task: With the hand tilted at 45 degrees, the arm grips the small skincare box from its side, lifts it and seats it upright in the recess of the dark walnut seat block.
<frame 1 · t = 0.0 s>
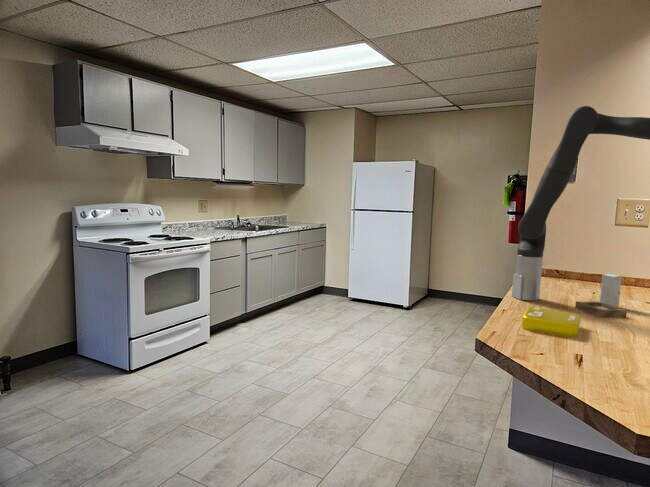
seat block: (599, 312, 152), on the table
skincare box: (608, 307, 161), on the table
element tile: (550, 329, 133), on the table
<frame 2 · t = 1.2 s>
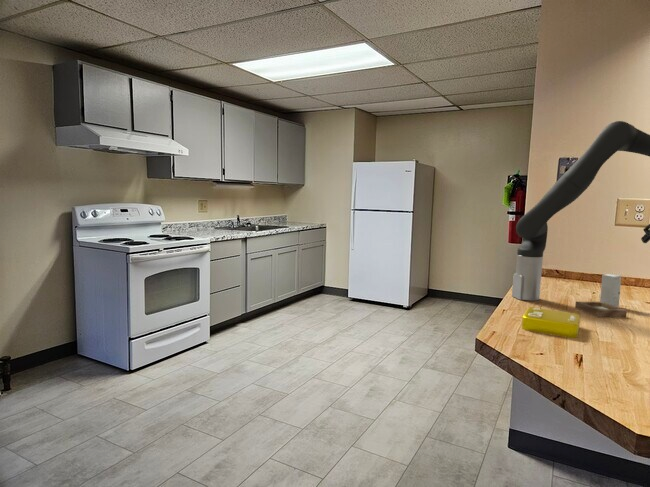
nothing on the table moved.
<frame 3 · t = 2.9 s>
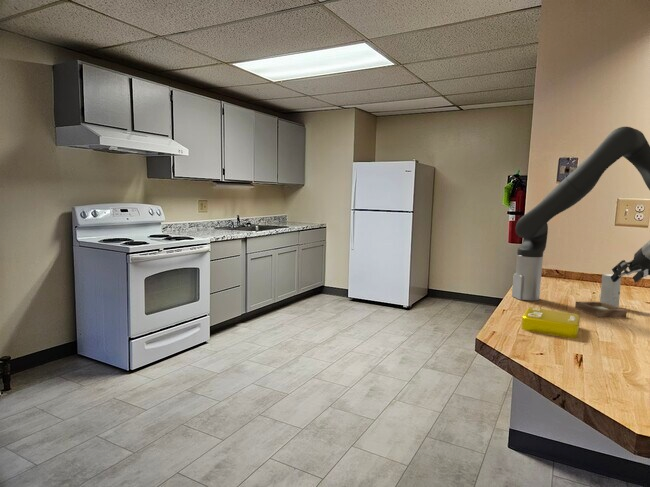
hand: (623, 279, 154), 11 cm above the table, tool tilted 45°, fingers open, 8 cm apart
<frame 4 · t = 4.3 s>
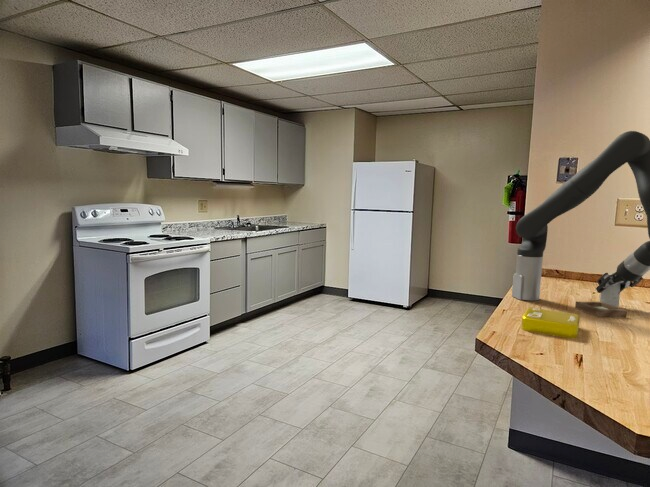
hand: (607, 290, 162), 6 cm above the table, tool tilted 45°, fingers closed on skincare box, 7 cm apart
skincare box: (608, 307, 161), on the table, touching gripper
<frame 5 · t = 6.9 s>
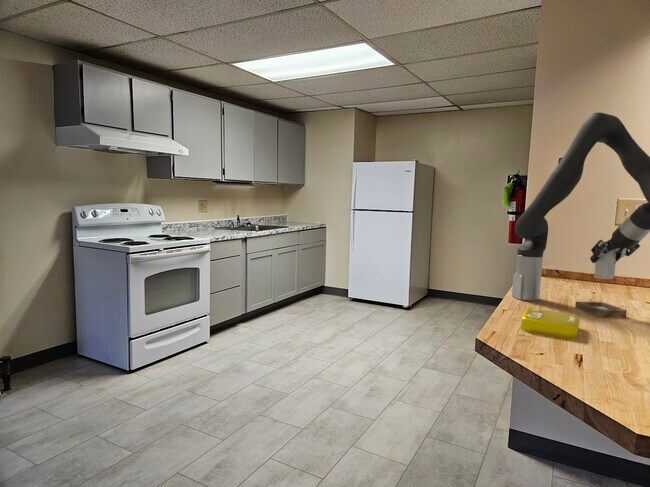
hand: (602, 261, 151), 18 cm above the table, tool tilted 45°, fingers closed on skincare box, 7 cm apart
skincare box: (603, 278, 150), point 12 cm above the table, touching gripper
when the fingers open (7 cm above the table, at t = 9.6 s): skincare box stays where it is, resting on seat block.
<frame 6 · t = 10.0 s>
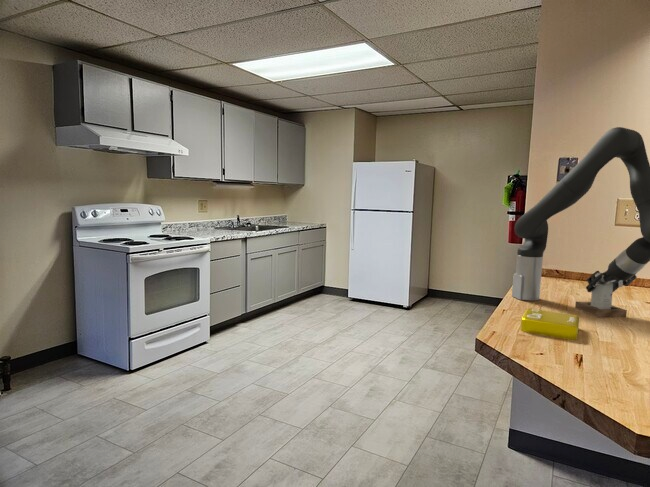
hand: (599, 290, 152), 8 cm above the table, tool tilted 45°, fingers open, 8 cm apart
skincare box: (600, 310, 152), point 1 cm above the table, touching seat block
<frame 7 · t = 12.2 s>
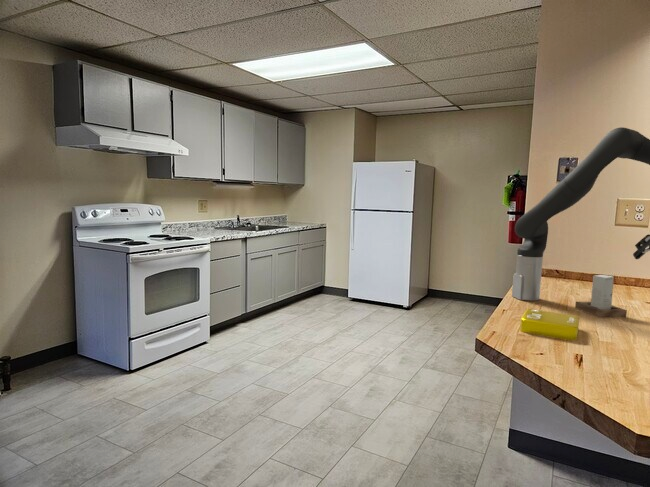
hand: (647, 257, 141), 21 cm above the table, tool tilted 45°, fingers open, 8 cm apart
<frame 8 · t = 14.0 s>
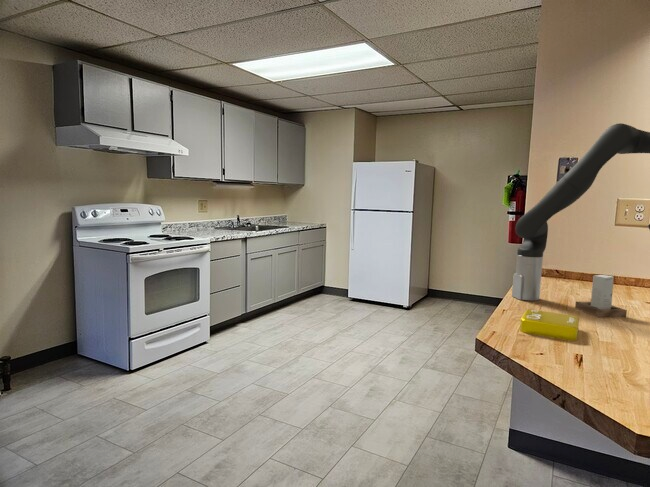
at the end: skincare box inside the target area on the seat block (0.2 cm from its centre), point 1.0 cm above the seat block's base; skincare box tilted 0°; the gripper is holding nothing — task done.
